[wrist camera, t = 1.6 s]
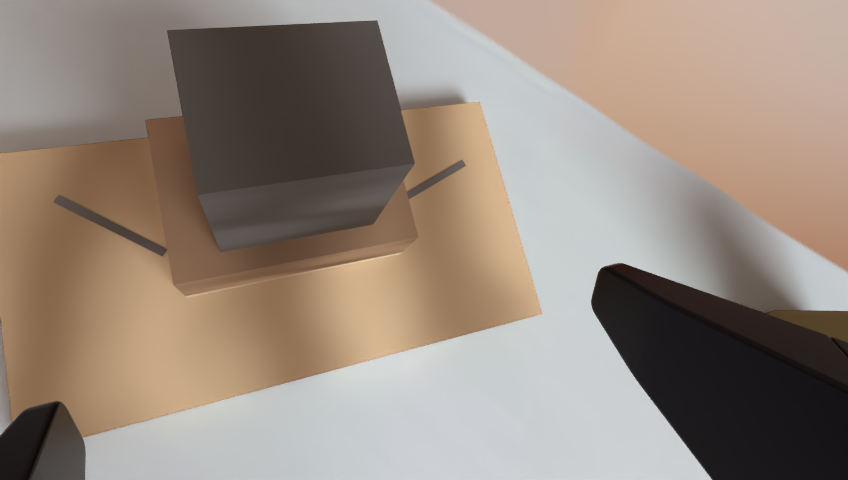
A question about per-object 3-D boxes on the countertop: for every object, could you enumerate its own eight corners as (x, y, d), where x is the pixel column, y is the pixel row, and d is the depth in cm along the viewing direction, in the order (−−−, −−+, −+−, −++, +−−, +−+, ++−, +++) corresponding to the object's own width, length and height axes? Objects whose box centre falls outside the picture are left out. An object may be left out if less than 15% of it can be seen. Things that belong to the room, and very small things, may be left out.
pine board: (471, 112, 25) (480, 101, 24) (531, 316, 23) (542, 313, 22) (-3, 166, 19) (-18, 154, 18) (29, 450, 17) (14, 455, 16)
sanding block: (368, 129, 22) (423, -7, 14) (400, 254, 21) (477, 182, 13) (162, 154, 19) (87, 3, 11) (186, 297, 18) (124, 240, 10)
